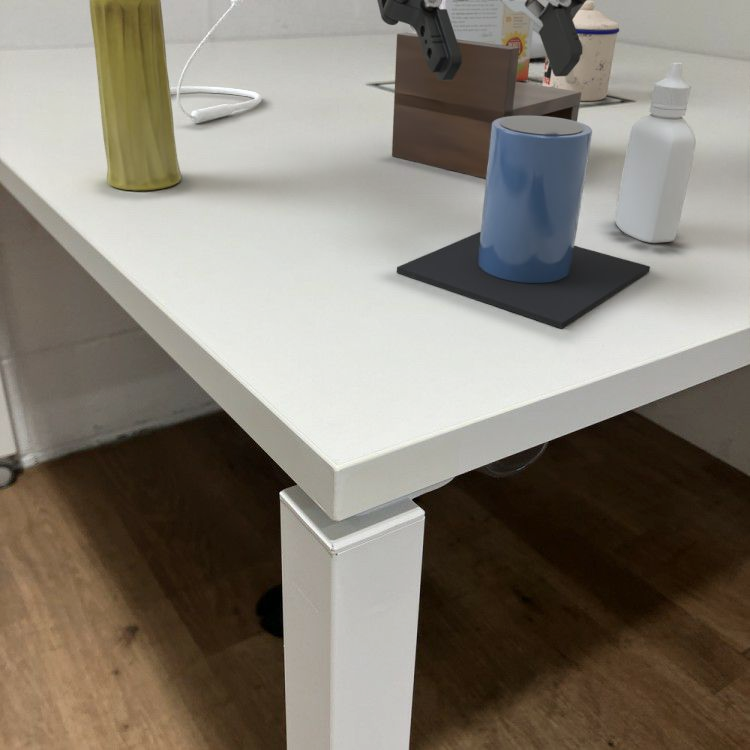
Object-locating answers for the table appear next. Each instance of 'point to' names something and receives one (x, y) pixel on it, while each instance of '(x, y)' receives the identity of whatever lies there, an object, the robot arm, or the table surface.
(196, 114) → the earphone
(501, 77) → the shelf
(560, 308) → the mat
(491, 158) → the cup
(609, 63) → the teacup with lid
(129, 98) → the vase
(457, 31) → the cracker box
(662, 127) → the eye dropper bottle
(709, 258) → the table surface
